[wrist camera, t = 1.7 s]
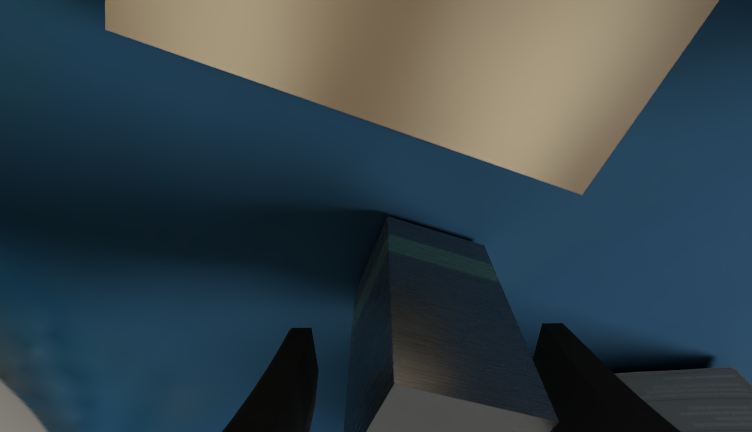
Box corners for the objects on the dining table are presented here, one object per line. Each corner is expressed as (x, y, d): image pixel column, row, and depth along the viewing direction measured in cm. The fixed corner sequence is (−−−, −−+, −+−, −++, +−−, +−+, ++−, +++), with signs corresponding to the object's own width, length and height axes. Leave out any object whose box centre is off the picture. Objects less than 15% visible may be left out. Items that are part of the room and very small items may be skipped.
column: (484, 245, 15) (559, 421, 8) (441, 316, 16) (478, 501, 10) (387, 216, 14) (394, 384, 8) (354, 293, 16) (340, 475, 10)
